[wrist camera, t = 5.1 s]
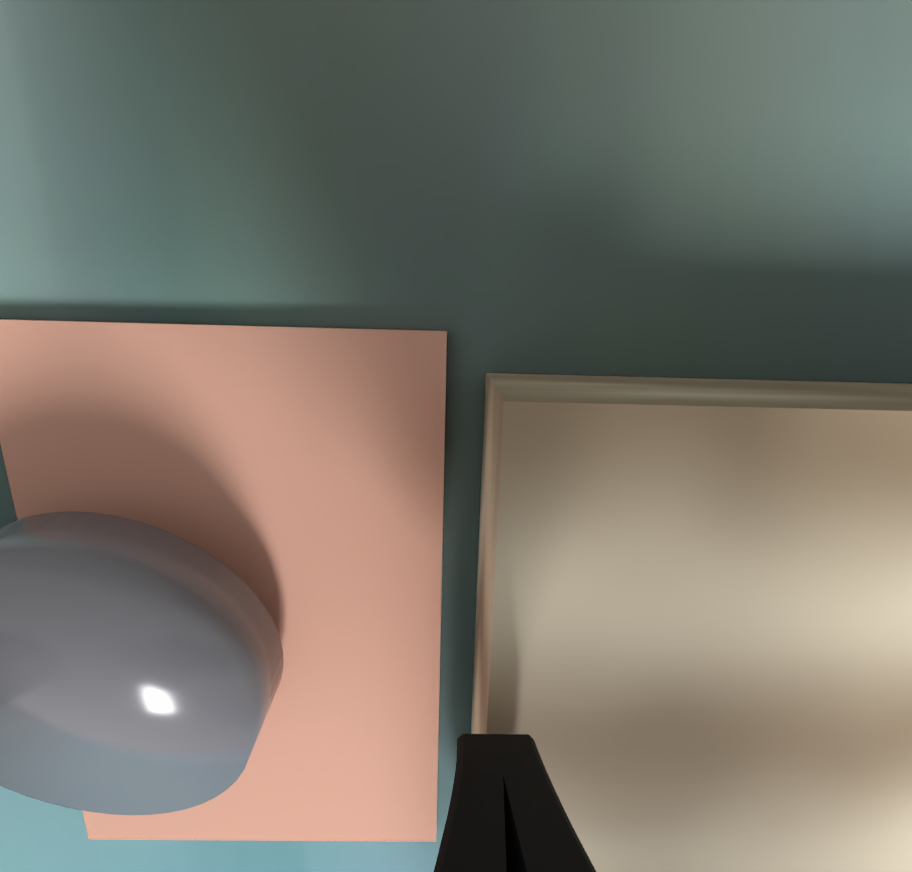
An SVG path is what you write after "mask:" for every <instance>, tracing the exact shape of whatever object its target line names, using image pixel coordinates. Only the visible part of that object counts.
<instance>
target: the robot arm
mask: <svg viewBox="0 0 912 872" xmlns="http://www.w3.org/2000/svg"><path fill="white" fill-rule="evenodd" d="M434 872H596V870H595V868H594V866H593V864H592V862H591V861H590V859H589V857H588V855H587V853H586V851H585V849H584V847H583V845H582V844H581V842H580V840H579V838H578V836H577V834H576V832H575V830H574V828H573V826H572V824H571V822H570V820H569V818H568V816H567V814H566V812H565V810H564V808H563V806H562V804H561V802H560V799H559V797H558V795H557V793H556V791H555V789H554V787H553V784H552V782H551V780H550V778H549V776H548V773H547V771H546V769H545V766H544V764H543V761H542V759H541V757H540V754H539V752H538V749H537V746H536V744H535V741H534V739H533V738H532V737H531V736H530V735H529V734H463V735H461V736H460V737H459V738H458V739H457V762H456V772H455V779H454V785H453V791H452V796H451V801H450V806H449V812H448V816H447V820H446V824H445V829H444V833H443V837H442V841H441V845H440V849H439V853H438V858H437V862H436V865H435V869H434Z"/></svg>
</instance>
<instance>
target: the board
mask: <svg viewBox="0 0 912 872" xmlns="http://www.w3.org/2000/svg"><path fill="white" fill-rule="evenodd" d="M471 734H529V735H530V736H531V737H532V738H533V739H534V741H535V744H536V746H537V749H538V752H539V754H540V757H541V759H542V761H543V764H544V766H545V769H546V771H547V773H548V776H549V778H550V780H551V782H552V784H553V787H554V789H555V791H556V793H557V795H558V797H559V799H560V802H561V804H562V806H563V808H564V810H565V812H566V814H567V816H568V818H569V820H570V822H571V824H572V826H573V828H574V830H575V832H576V834H577V836H578V838H579V840H580V842H581V844H582V845H583V847H584V849H585V851H586V853H587V855H588V857H589V859H590V861H591V862H592V864H593V866H594V868H595V870H596V872H912V384H906V383H866V382H825V381H785V380H745V379H705V378H665V377H625V376H585V375H545V374H505V373H486V388H485V412H484V435H483V459H482V483H481V506H480V530H479V554H478V577H477V601H476V625H475V648H474V672H473V696H472V719H471Z"/></svg>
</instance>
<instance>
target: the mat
mask: <svg viewBox="0 0 912 872" xmlns="http://www.w3.org/2000/svg"><path fill="white" fill-rule="evenodd" d="M446 355H447V331H427V330H389V329H352V328H314V327H276V326H239V325H201V324H164V323H126V322H88V321H51V320H13V319H0V445H1V449H2V454H3V458H4V463H5V467H6V471H7V476H8V480H9V485H10V489H11V494H12V498H13V503H14V507H15V512H16V516H17V520H19V519H22V518H25V517H29V516H34V515H38V514H43V513H51V512H64V511H75V512H94V513H101V514H108V515H115V516H119V517H123V518H127V519H131V520H135V521H139V522H142V523H145V524H148V525H151V526H154V527H157V528H160V529H162V530H165V531H167V532H169V533H171V534H174V535H176V536H178V537H180V538H183V539H185V540H186V541H188V542H190V543H192V544H194V545H195V546H197V547H199V548H201V549H202V550H204V551H206V552H207V553H209V554H210V555H212V556H213V557H215V558H216V559H217V560H219V561H220V562H222V563H223V564H225V565H226V566H227V567H228V568H229V569H230V570H232V571H233V572H234V573H235V574H236V575H237V576H239V577H240V578H241V579H242V580H243V581H244V582H245V583H246V584H247V585H248V586H249V588H250V589H251V590H252V591H253V592H254V593H255V594H256V595H257V597H258V598H259V599H260V601H261V602H262V603H263V605H264V606H265V607H266V609H267V611H268V612H269V614H270V616H271V618H272V620H273V621H274V623H275V626H276V628H277V631H278V634H279V636H280V639H281V644H282V649H283V672H282V678H281V681H280V684H279V686H278V688H277V691H276V693H275V696H274V698H273V701H272V703H271V706H270V708H269V710H268V713H267V715H266V718H265V720H264V723H263V725H262V728H261V730H260V732H259V735H258V737H257V740H256V742H255V745H254V747H253V749H252V752H251V754H250V757H249V759H248V762H247V764H246V767H245V769H244V771H243V772H242V774H241V775H240V776H239V778H238V779H237V781H236V782H235V783H234V784H232V785H231V786H230V787H229V788H228V789H227V790H226V791H224V792H223V793H221V794H220V795H218V796H217V797H215V798H213V799H211V800H209V801H207V802H205V803H203V804H200V805H197V806H194V807H191V808H188V809H185V810H180V811H175V812H170V813H162V814H153V815H113V814H104V813H95V812H88V811H83V816H84V820H85V824H86V829H87V833H88V838H89V839H100V840H255V841H410V842H436V831H437V784H438V736H439V688H440V641H441V593H442V546H443V498H444V451H445V403H446Z"/></svg>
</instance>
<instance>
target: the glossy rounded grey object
mask: <svg viewBox="0 0 912 872" xmlns="http://www.w3.org/2000/svg"><path fill="white" fill-rule="evenodd" d="M282 672H283V649H282V644H281V639H280V636H279V634H278V631H277V628H276V626H275V623H274V621H273V620H272V618H271V616H270V614H269V612H268V611H267V609H266V607H265V606H264V605H263V603H262V602H261V601H260V599H259V598H258V597H257V595H256V594H255V593H254V592H253V591H252V590H251V589H250V588H249V586H248V585H247V584H246V583H245V582H244V581H243V580H242V579H241V578H240V577H239V576H237V575H236V574H235V573H234V572H233V571H232V570H230V569H229V568H228V567H227V566H226V565H225V564H223V563H222V562H220V561H219V560H217V559H216V558H215V557H213V556H212V555H210V554H209V553H207V552H206V551H204V550H202V549H201V548H199V547H197V546H195V545H194V544H192V543H190V542H188V541H186V540H185V539H183V538H180V537H178V536H176V535H174V534H171V533H169V532H167V531H165V530H162V529H160V528H157V527H154V526H151V525H148V524H145V523H142V522H139V521H135V520H131V519H127V518H123V517H119V516H115V515H108V514H101V513H94V512H75V511H64V512H51V513H43V514H38V515H34V516H29V517H25V518H22V519H19V520H17V521H14V522H11V523H9V524H7V525H5V526H3V527H2V528H0V786H2V787H4V788H7V789H9V790H12V791H15V792H17V793H20V794H23V795H25V796H28V797H31V798H34V799H38V800H41V801H44V802H47V803H51V804H55V805H59V806H63V807H67V808H72V809H77V810H82V811H88V812H95V813H104V814H113V815H153V814H162V813H170V812H175V811H180V810H185V809H188V808H191V807H194V806H197V805H200V804H203V803H205V802H207V801H209V800H211V799H213V798H215V797H217V796H218V795H220V794H221V793H223V792H224V791H226V790H227V789H228V788H229V787H230V786H231V785H232V784H234V783H235V782H236V781H237V779H238V778H239V776H240V775H241V774H242V772H243V771H244V769H245V767H246V764H247V762H248V759H249V757H250V754H251V752H252V749H253V747H254V745H255V742H256V740H257V737H258V735H259V732H260V730H261V728H262V725H263V723H264V720H265V718H266V715H267V713H268V710H269V708H270V706H271V703H272V701H273V698H274V696H275V693H276V691H277V688H278V686H279V684H280V681H281V678H282Z"/></svg>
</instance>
